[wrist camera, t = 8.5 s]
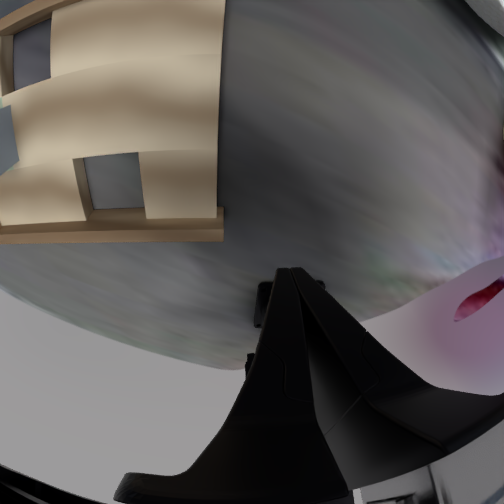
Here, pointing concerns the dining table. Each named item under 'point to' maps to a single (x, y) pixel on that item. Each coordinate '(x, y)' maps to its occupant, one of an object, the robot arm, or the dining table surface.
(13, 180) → the tray
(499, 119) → the dining table surface
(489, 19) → the cereal bowl
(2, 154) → the slate block
